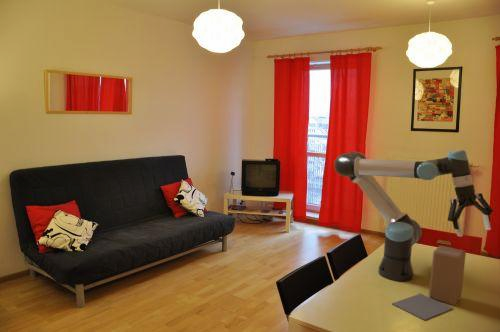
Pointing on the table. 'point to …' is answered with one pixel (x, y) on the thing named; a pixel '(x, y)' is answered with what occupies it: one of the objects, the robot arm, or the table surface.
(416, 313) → the mat
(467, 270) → the table surface
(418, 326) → the table surface
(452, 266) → the wooden block
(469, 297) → the table surface
